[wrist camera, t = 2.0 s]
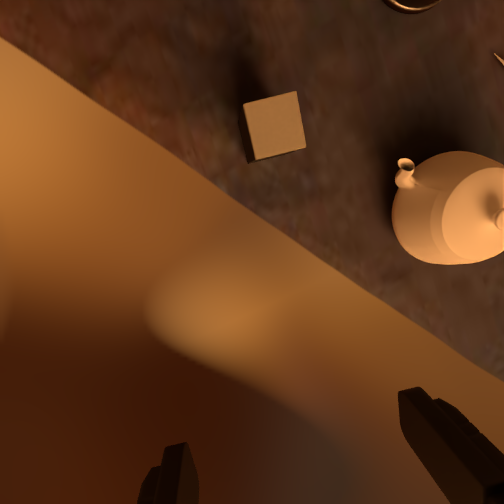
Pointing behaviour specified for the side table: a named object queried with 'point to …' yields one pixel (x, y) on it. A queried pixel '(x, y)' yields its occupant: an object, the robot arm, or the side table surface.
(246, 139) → the tan rectangular block
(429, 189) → the teapot
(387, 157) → the side table surface
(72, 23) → the side table surface
